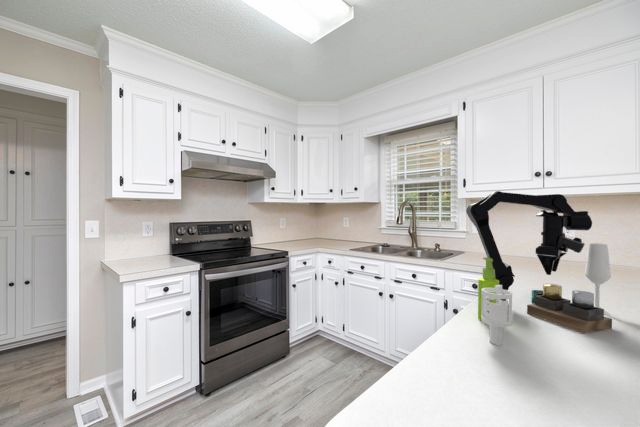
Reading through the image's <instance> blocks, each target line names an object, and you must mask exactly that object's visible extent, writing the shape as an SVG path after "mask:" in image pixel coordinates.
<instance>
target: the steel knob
mask: <svg viewBox="0 0 640 427" xmlns="http://www.w3.org/2000/svg"><path fill="white" fill-rule="evenodd" d="M571 293H572V294H571V296H572V297H571V299H572V300H571V303H572V304H573V305H575V306H578V307H583V308H594V306H595V293H594V292H590V291H585V290H576V289H575V290H571Z"/></svg>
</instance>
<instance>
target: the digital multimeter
mask: <svg viewBox="0 0 640 427" xmlns="http://www.w3.org/2000/svg"><path fill="white" fill-rule="evenodd" d="M540 295H543V289H540V290H539V289H533V290H531V303H532V304H535V296H540Z"/></svg>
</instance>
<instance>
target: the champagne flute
mask: <svg viewBox="0 0 640 427" xmlns="http://www.w3.org/2000/svg"><path fill="white" fill-rule="evenodd" d="M586 254H587V255H586V261H585V267H584V268H585V269H584V276H585V277H586V278H587V279H588V280H589V281H590V282H591V283H593V284H594V307H598V308H602V307H601V306H600V304H601V303H600V296H601V294H600V289H601V287H600V286H601V285H602V284H604V283H606V282H608V281H610V279H611V277H612V274H611V265H610V255H609V248H608V243H600V242H599V243H598V242H589V243H588V245H587V253H586ZM604 316H611V313H610V312H609V311H607V310H605V309H604Z"/></svg>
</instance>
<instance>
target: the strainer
mask: <svg viewBox="0 0 640 427" xmlns="http://www.w3.org/2000/svg"><path fill="white" fill-rule="evenodd" d="M489 292H496V294H494V293H489ZM481 294H482V300H481V320H482V321H481V320H480V321H481V322H483V323H484V324H486V325H489V342H490V344H493V345H496V346H502V345H503V344H504V341H503V340H504V336H503V335H504V328H509V327H512V326H513V292H512V291H510V290H509V289H508V290H504V289H502V285H495V288H482V289H481ZM485 296H487V297H485ZM495 299H497V300H496V304H495V303H491V302H490V300H495ZM500 299H506V301H502V300H500Z"/></svg>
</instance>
